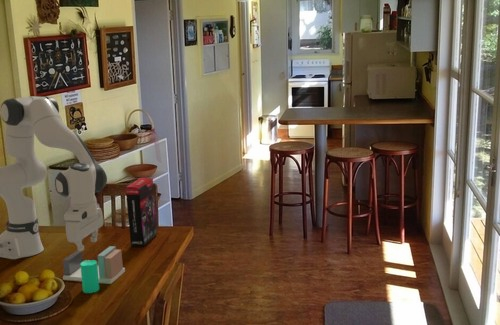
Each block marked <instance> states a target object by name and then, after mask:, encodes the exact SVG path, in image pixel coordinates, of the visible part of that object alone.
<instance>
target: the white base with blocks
mask: <svg viewBox="0 0 500 325" xmlns="http://www.w3.org/2000/svg"><path fill="white" fill-rule="evenodd" d="M116 247H117V246H115V245H114V246H111V245H109V246H108V247H107V248H105V249H104V250H103V251H102V252H100V253H99V254H98V255H97V266H98V278H99V284H109V285H111V284H113V283H114V282H115V281H116V280H117V279H119V278H120V277H121V276H122V275H123V274H124V273H125V272H126V268H125V267H124V266H123V254H122V249H117V248H116ZM62 279H63V281H74V282H82V276H81V267H80V268H79V269H78V270H76V271H75V272H74V273H72V274H71V275H64V274H63V275H62Z"/></svg>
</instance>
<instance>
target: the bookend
mask: <svg viewBox="0 0 500 325" xmlns="http://www.w3.org/2000/svg"><path fill="white" fill-rule="evenodd" d="M83 261H84V259H83V251H78V250H75V251H74V252H72V253H71V254H70V255H68V256H66V257H65V258H63V260H62V266H63V276H64V275H71V274H72V273H74V272H75V271H76V270H78V269H79V268H80V267H81V265H80V263H82V262H83Z"/></svg>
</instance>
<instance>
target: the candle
mask: <svg viewBox="0 0 500 325" xmlns="http://www.w3.org/2000/svg"><path fill="white" fill-rule="evenodd" d="M80 265H81V276H82V281H81V284H82V285H81V286H82V292H83V293H85V294H92V293H93V292H94V293H96V292H99V290H100V283H99V278H98V261H97V260H95V259H91V260H89V258H88V260H87V259H85V260H83V262H82V263H80Z"/></svg>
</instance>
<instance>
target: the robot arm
mask: <svg viewBox="0 0 500 325" xmlns="http://www.w3.org/2000/svg"><path fill="white" fill-rule="evenodd" d="M59 107H60V106H59V104H58V101H57V100H56V99H55V98H54V97H52V96H47V95H46V96H36V95H35V96H33V95H32V96H31V95H30V96H26V97H24V96H23V97H17V98H13V97H12V98H9V99H5V100H4V101H3V102H2V103H1V105H0V115H1V119H2V121H3V122H4V123H5V124H6V125H5V135H4V136H5V140H4V141H5V142H4V149H5V151H6V153H7V154H8V155H10V157H14V158H15V163H12V164H7V165H4V166H0V197H1V198H2V199H3V201H4V203H5V205H6V210H7V215H8V221H6V223H3V227H6V229H5V230H4V231H3V232H2V233H1V234H0V258H5V259H9V260H18V259H21V258H27V257H32V256H35V255H38V254H40V253H42V252H43V251H44V250H45V248H44V246H43V244H42V241H41V237H40V232H39V227H40V226H39V219H38V217H37V208H36V202H35V200H33V198H31V197H29V196H26V195H24V192H23V189H27V188H30V187H33V186H37V185H38V184H42V183H43V182H45V180H46V179H47V176H48V170H47V166H46V165H45V163H44V162H42V161H41V160H40V159H38V157H37V154H36V153H35V137H36V139H37V141H39V143H40V144H42V145H43V146H45V147H49V148H52V149H60V150H61V149H62V150H65V151H69V152H70V153H72V154H74V156H75V157H76V158H77V160H78V161H79V162H76V163H72V164H70V165H69V167H68V169H66V170H63V171H59V173H57V175H56V177H55V178H54V187H55V191H56V192H57V194H59V195H60V196H61V197H64V198H69V197H70V206H69V208H68V210H66V212H65V213H64V215H63V220H64V221H66V222H65V234H66V240H67V241H68V243H74V244H75V245H76V247H77V248H76V249H77V251H82V252H83V251H84V250H85V245H83V239H84V238H86V237H88V236H89V235H91V236H90V242H91V243H96V242H97V241H98V233H99V228H101V227H103V225H104V216H103V211H102V210H103V209H102V208H101V207H100V204H99V203H98V202H97V197H96V195H95V193H100V192H102V190H104V188H105V187H106V185H107V183H108V177H107V173H106V171H105V170H104V168H103V167H102V166H101V164H99V163H98V162H97V160H96V158H95V157H94V155H93V154H92V153H91V151H90V150H89V148H88V147H87V145H86V143H85V142H84V141H83V139H82V138H81V136H80V135H79V134H78V133H77V132H76V131H74V130H71V129H70V128H69V127H68V126H67V125H66V124H65V122H64V121H63V120H62V117H61V115H60V108H59Z"/></svg>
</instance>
